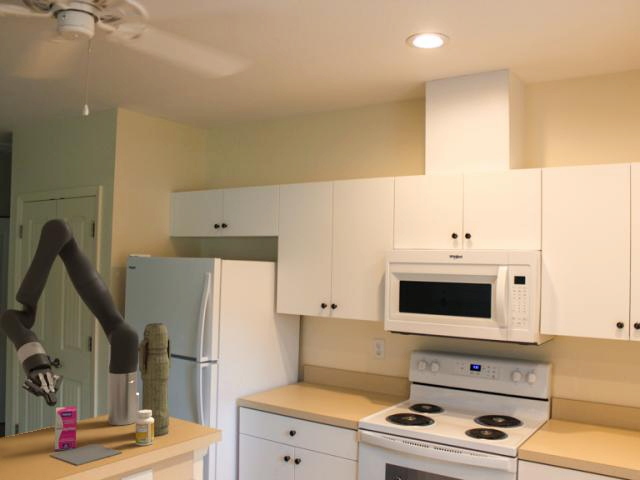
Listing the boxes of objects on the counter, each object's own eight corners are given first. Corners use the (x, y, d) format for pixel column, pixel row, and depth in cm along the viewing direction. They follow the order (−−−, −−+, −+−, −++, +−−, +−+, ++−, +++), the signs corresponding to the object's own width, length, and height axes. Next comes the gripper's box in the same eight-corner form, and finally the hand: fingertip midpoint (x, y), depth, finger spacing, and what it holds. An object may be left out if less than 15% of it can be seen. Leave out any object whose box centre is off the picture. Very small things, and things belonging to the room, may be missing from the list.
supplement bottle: (148, 439, 192) (148, 408, 193) (157, 443, 188) (157, 411, 189) (132, 443, 188) (132, 411, 189) (140, 447, 185) (141, 414, 185)
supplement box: (54, 451, 180) (55, 411, 181) (54, 446, 186) (55, 407, 186) (76, 449, 182) (76, 409, 183) (75, 444, 188) (76, 405, 188)
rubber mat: (94, 444, 187) (94, 443, 187) (122, 453, 179) (122, 452, 179) (49, 455, 176) (49, 454, 176) (77, 465, 168) (77, 464, 168)
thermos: (130, 436, 196) (132, 324, 198) (156, 427, 207) (157, 321, 208) (152, 439, 192) (153, 325, 194) (177, 430, 203) (178, 322, 204)
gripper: (17, 354, 190) (37, 400, 182) (58, 350, 200) (78, 393, 192) (8, 370, 193) (27, 416, 185) (49, 365, 203) (68, 408, 195)
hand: (53, 404), depth 188 cm, fingers closed
